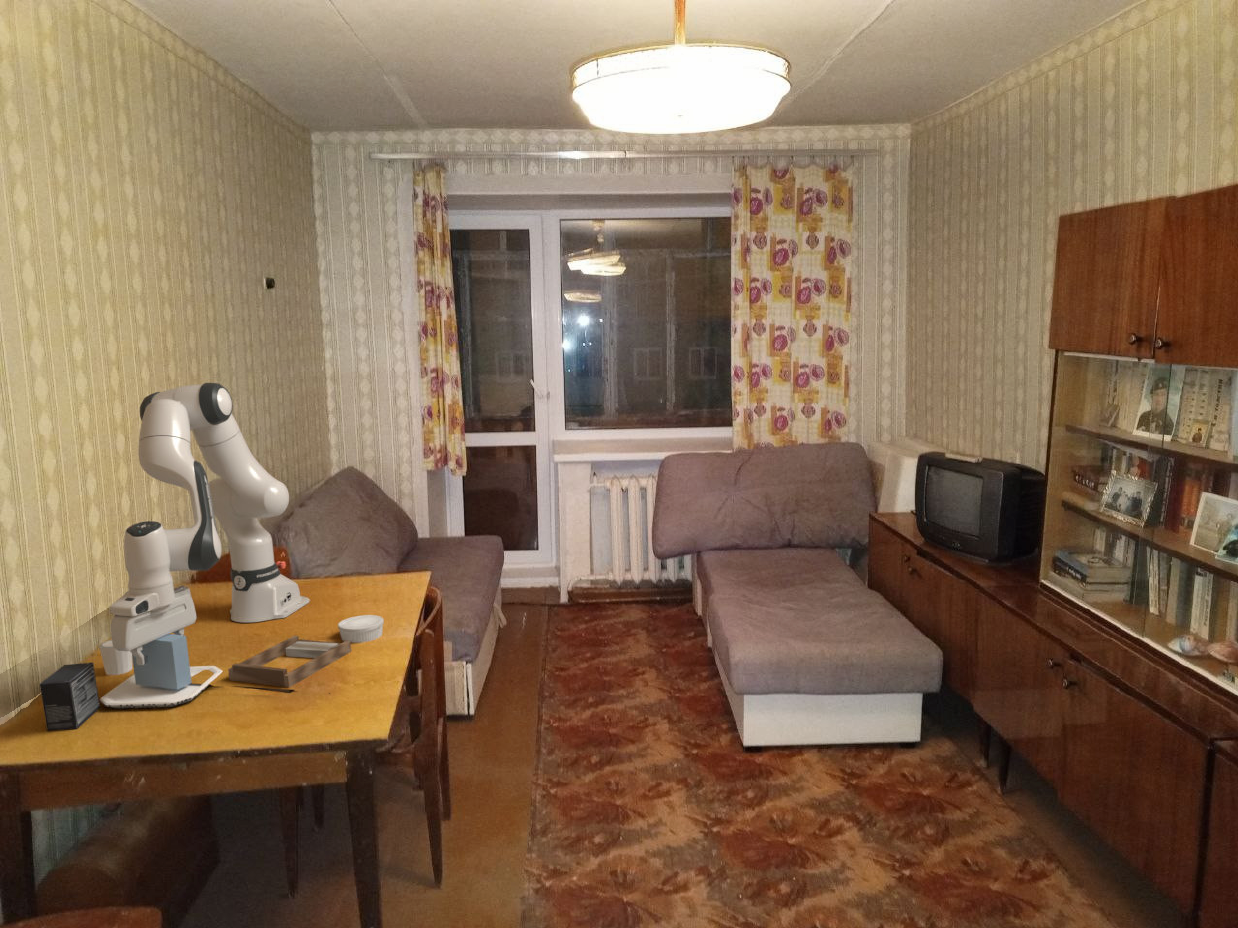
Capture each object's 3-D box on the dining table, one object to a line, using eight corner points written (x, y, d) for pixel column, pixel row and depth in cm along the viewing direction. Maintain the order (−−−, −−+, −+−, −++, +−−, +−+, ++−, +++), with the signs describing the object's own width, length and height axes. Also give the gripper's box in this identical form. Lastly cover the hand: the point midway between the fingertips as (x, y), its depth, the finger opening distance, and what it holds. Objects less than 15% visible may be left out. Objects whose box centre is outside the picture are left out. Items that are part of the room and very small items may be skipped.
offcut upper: (298, 649, 229) (297, 641, 229) (338, 651, 226) (337, 643, 226) (286, 656, 224) (285, 648, 224) (327, 658, 221) (326, 650, 221)
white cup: (141, 666, 225) (138, 638, 224) (118, 677, 219) (114, 648, 218) (119, 664, 228) (116, 636, 226) (95, 674, 221) (92, 646, 220)
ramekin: (352, 633, 244) (350, 613, 243) (392, 634, 241) (391, 614, 240) (331, 648, 233) (329, 628, 232) (373, 650, 230) (371, 629, 230)
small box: (70, 710, 201) (63, 663, 199) (101, 707, 202) (95, 661, 200) (44, 731, 191) (37, 682, 189) (77, 729, 191) (71, 680, 190)
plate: (143, 676, 220) (142, 667, 220) (229, 673, 219) (228, 664, 219) (92, 713, 200) (90, 704, 199) (187, 711, 199) (186, 701, 199)
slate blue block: (150, 677, 213) (144, 631, 211) (191, 682, 209) (186, 635, 207) (135, 684, 209) (129, 637, 208) (177, 689, 205) (171, 641, 204)
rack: (297, 650, 232) (295, 630, 231) (353, 656, 226) (351, 636, 226) (230, 685, 211) (227, 664, 210) (289, 693, 205) (287, 671, 204)
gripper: (177, 582, 217) (184, 639, 219) (102, 609, 198) (110, 671, 200) (199, 583, 215) (206, 641, 217) (125, 611, 196) (133, 674, 198)
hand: (159, 656), depth 208 cm, fingers open, 8 cm apart
